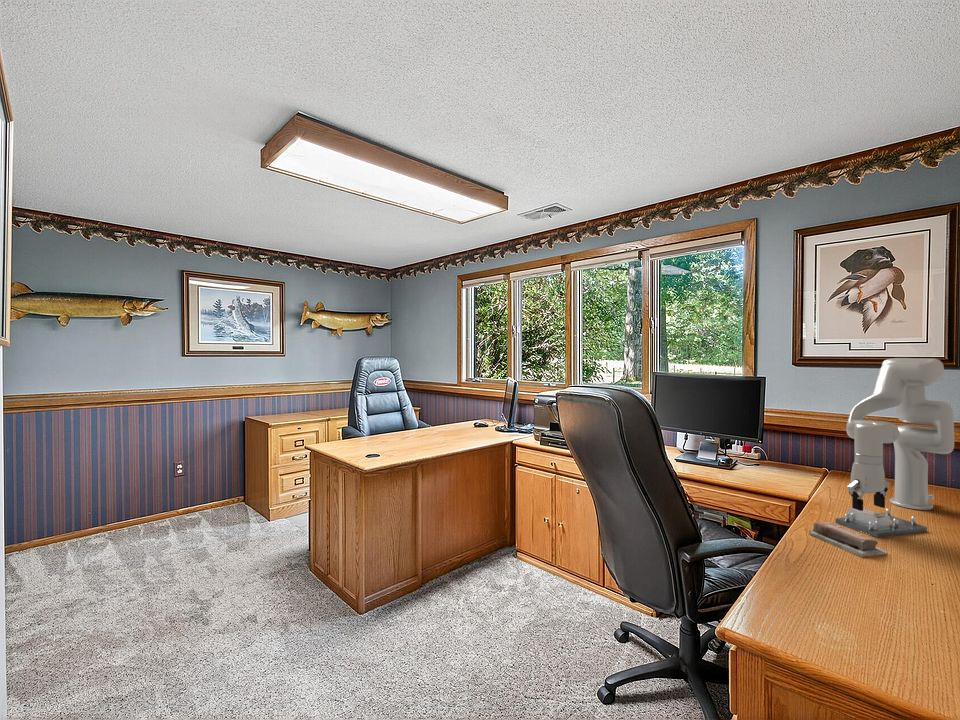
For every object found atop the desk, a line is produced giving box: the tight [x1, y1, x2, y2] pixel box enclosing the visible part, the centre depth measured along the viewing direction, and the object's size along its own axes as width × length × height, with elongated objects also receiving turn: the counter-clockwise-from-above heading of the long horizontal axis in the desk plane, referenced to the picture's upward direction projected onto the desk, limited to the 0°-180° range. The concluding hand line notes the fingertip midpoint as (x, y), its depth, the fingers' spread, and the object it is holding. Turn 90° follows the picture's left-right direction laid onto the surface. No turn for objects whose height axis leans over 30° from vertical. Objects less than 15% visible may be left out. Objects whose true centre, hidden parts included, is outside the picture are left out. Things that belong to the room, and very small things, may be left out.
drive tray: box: [834, 508, 928, 539], centre depth 159 cm, size 22×14×4 cm, turn 103°
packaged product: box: [808, 520, 888, 558], centre depth 146 cm, size 18×5×10 cm
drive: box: [846, 507, 890, 530], centre depth 158 cm, size 6×10×4 cm, turn 14°
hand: (868, 508), depth 158 cm, fingers open, 9 cm apart
